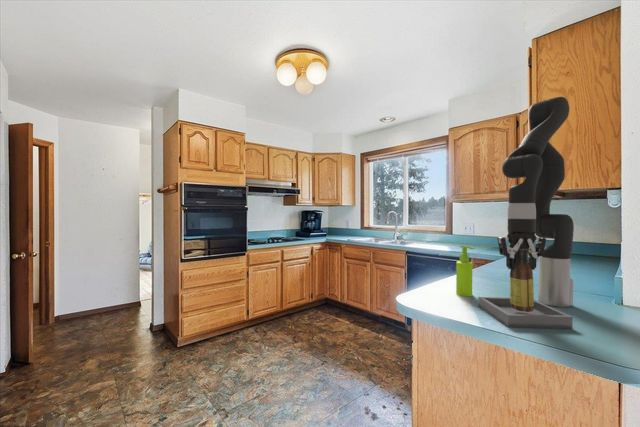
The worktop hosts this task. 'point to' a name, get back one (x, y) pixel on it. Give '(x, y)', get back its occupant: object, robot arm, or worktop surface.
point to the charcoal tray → (525, 314)
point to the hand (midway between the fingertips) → (521, 269)
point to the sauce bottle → (521, 283)
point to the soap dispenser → (464, 273)
